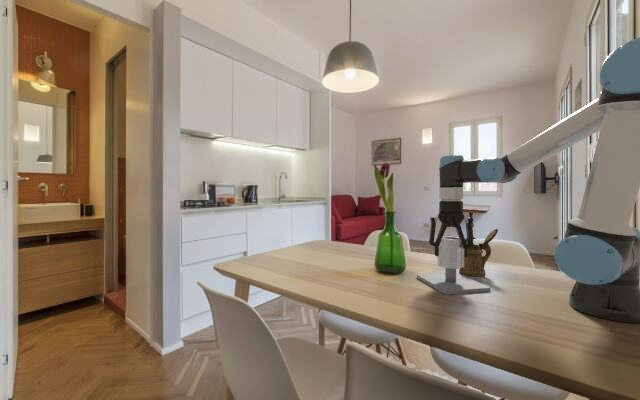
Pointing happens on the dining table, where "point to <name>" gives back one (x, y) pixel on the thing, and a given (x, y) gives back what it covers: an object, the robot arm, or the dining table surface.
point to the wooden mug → (477, 257)
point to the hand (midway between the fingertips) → (450, 265)
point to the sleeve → (451, 252)
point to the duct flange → (452, 283)
